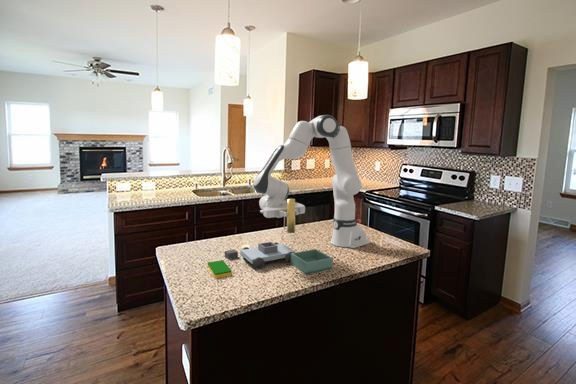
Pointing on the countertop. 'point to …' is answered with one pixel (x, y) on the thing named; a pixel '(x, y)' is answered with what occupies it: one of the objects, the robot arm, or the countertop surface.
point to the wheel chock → (231, 254)
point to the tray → (311, 261)
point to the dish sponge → (219, 269)
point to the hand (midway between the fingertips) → (292, 214)
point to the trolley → (266, 253)
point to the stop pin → (291, 215)
